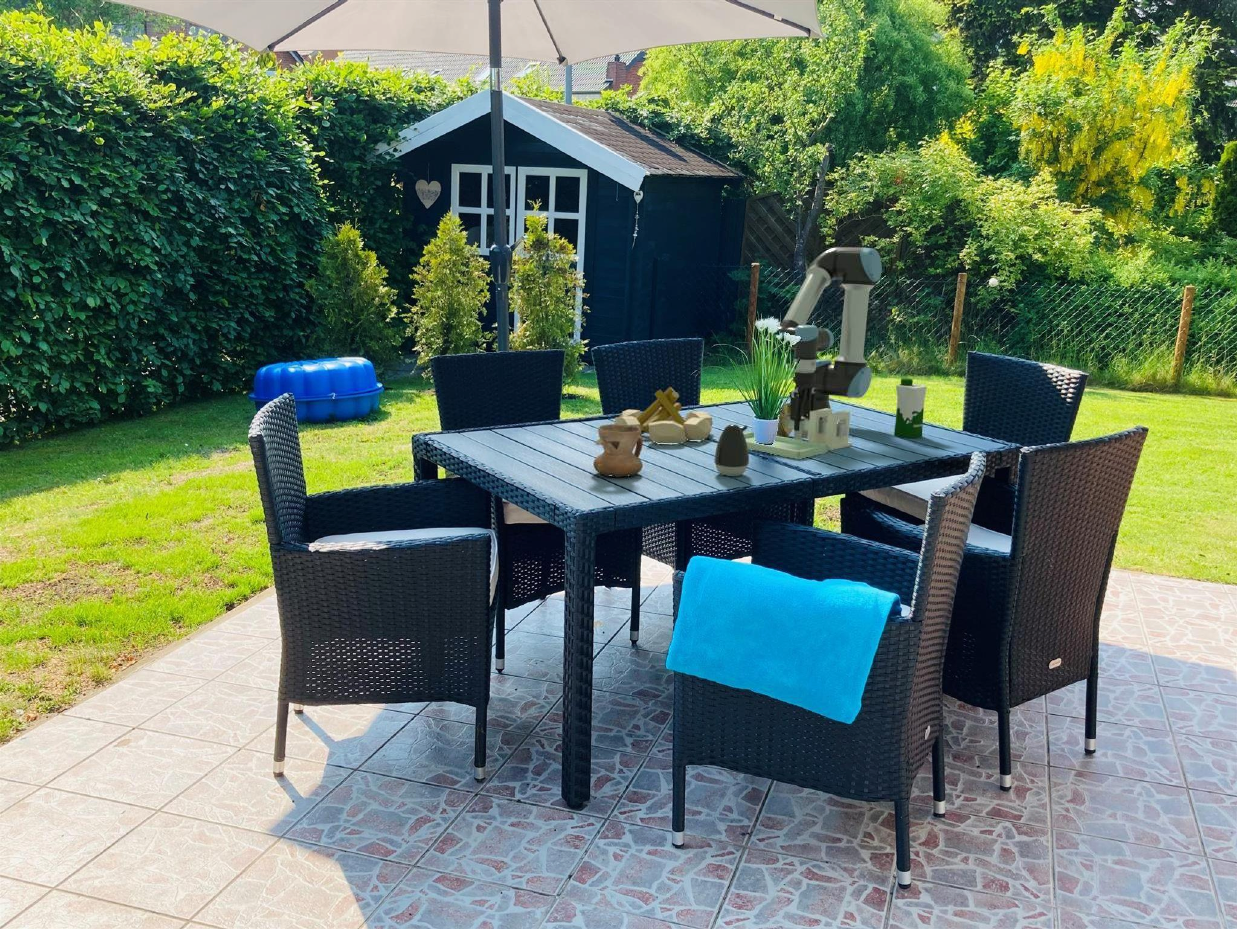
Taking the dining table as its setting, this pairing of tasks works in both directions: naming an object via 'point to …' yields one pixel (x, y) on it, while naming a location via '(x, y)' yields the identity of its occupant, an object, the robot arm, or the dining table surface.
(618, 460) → the ceramic jug
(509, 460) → the dining table surface
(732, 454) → the pump dispenser
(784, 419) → the gold disc post
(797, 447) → the tray
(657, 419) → the campfire
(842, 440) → the double loop bracket
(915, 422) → the milk carton
